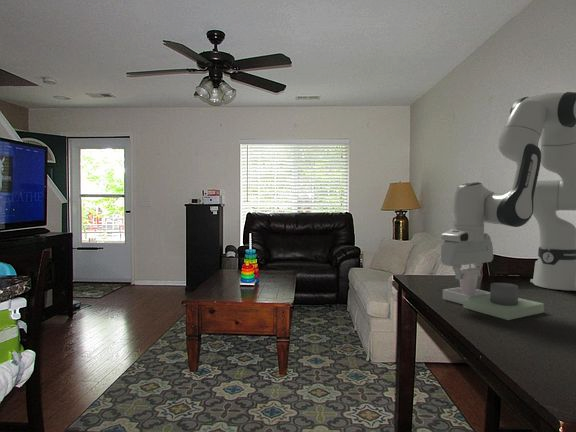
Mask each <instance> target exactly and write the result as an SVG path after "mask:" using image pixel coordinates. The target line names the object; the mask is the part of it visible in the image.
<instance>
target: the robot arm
mask: <svg viewBox="0 0 576 432" xmlns="http://www.w3.org/2000/svg"><path fill="white" fill-rule="evenodd" d="M500 133H501V134H500V136H499V138H498V150H499V151H500V153H501V155H503V156H504V157H505V158H506V159H508V160H510V161H512V162H514V163H516V171H515V175H514V179H513V180H514V181H513V184H512V187H511V189H510V190H509V191H508V192H506V193H505V192H504V193H501V192H500V193H499V192H496V193H495V192H494V191H491V190H490V189H488V188H486V187H485V186H484V185H483V183H482V182H476V181H475V182H468V183H463V184H459V185H458V186H456V189H455V191H454V195H453V215H454V221H453V225H452V227H453V228H450V229H449V230H447V231H445V232H443V233H441V236H440V237H441V241H443V242H442V243H441V245H440V246H441V248H440V262H441V263H442V265H443V266H447V267H452V270H453V272H454V274H455V278H454V279H455V280H460V279H463V274H462V273H461V271H460V269H461V267H462V266H464V265H465V266H466V265H469V264H471V265H474V268H477V269H479V273H478V278H479V277H480V276H481V274H480V273H481V270H482V268H483V265H484V263H490V262H492V261H493V259H494V248H493V242H492V239H491V236H490V235H489V233H485V224H494V225H504V226H507V227H512V228H513V227H514V228H518V227H522V226H524V225H526V224H527V223H528V222H529V221H530V219H532V216H533V217H534V218H535V220H536V221H537V224H538V229H539V247H538V250H537V253H538V254H537V256H538V259H537V260H535V262H534V270H533V271H534V272H533V278H530V281H529V282H530V283H532V284H533V285H535V286H537V287H540V288H545V289H550V290H561V291H575V292H576V226H575V225H574V224H573V223H571V222H569V221H568V220H565V219H563V218H560V217H559V216H558V215H557V211H574V212H575V211H576V92H573V91H567V92H550V93H548V92H547V93H544V94H538V95H533V96H525V97H521V98H518V99H517V100H516V101H515V102H513V104H512V105H511V107H510V111H509V115H508V117H507V119H506V121H505V123H504V125H503V128H502V131H501V132H500ZM539 143H540V148H539ZM541 165H542V167H543V168H544V169H545V170H547V171H549V172H552V173H553V174H556V175H558V176H559V177H560V179H559V180H538V179H539V178H538V177H539V174H540V173H539V172H540V168H541Z"/></svg>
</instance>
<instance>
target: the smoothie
mask: <svg viewBox="0 0 576 432" xmlns="http://www.w3.org/2000/svg"><path fill="white" fill-rule="evenodd" d="M471 265H472V264H468V266H467V267H465V266H464V267H462V266H461V269H460V271H461V273H462V274H463V279H460V280H459V279H458V280H459V286H460V288H461V294H464V295H468V296H472V295H475V294H476V289H477V285H478V284H477V283H478V278H479V277H478V273H479V269H477V268H475V267H472V266H471Z"/></svg>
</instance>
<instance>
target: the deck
mask: <svg viewBox="0 0 576 432" xmlns="http://www.w3.org/2000/svg"><path fill="white" fill-rule="evenodd" d="M489 289H490V292H489V291H486V290H482V289H478V288H476V294H475V295H472V296H468V295H464V294H461V288H460V287H452V288H445V289H442V299H443V300H445V301H449V302H452V303H456V304H461V305H462V306H463V307H462V308H463V309H467V310H471V311H474V312H478V313H480V314H484V315H489V316H493V317H495V318H499V319H503V320H506V321H510V320H511V321H512V320H514V319H515V320H516V319H519V318H523V317H524V318H525V317H529V316H533V315H539V314H542V313H545V303H543V302H538V301H534V300H530V299H529V300H528V299H524V298H521V297H519V286H518V285H517V284H513V283H508V282H507V283H506V282H492V283H490V288H489Z"/></svg>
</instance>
